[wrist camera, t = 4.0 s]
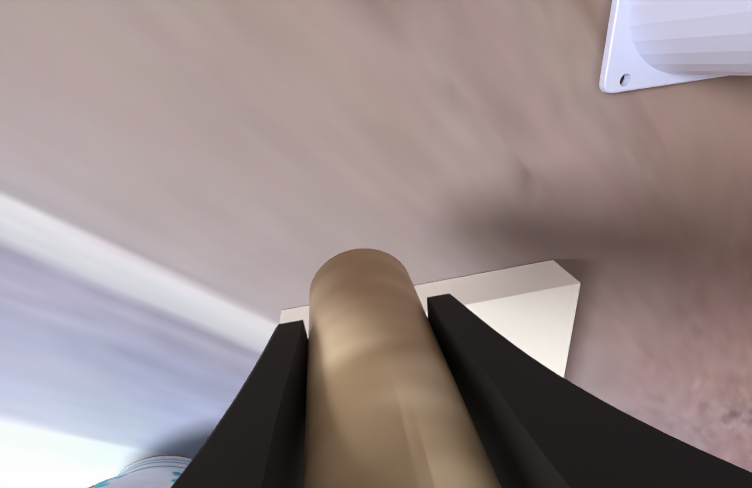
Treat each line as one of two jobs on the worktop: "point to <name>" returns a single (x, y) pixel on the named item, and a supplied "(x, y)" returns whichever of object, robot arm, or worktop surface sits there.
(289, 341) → the robot arm
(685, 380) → the worktop surface
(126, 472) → the chinaware
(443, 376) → the peg
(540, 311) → the socket plate
